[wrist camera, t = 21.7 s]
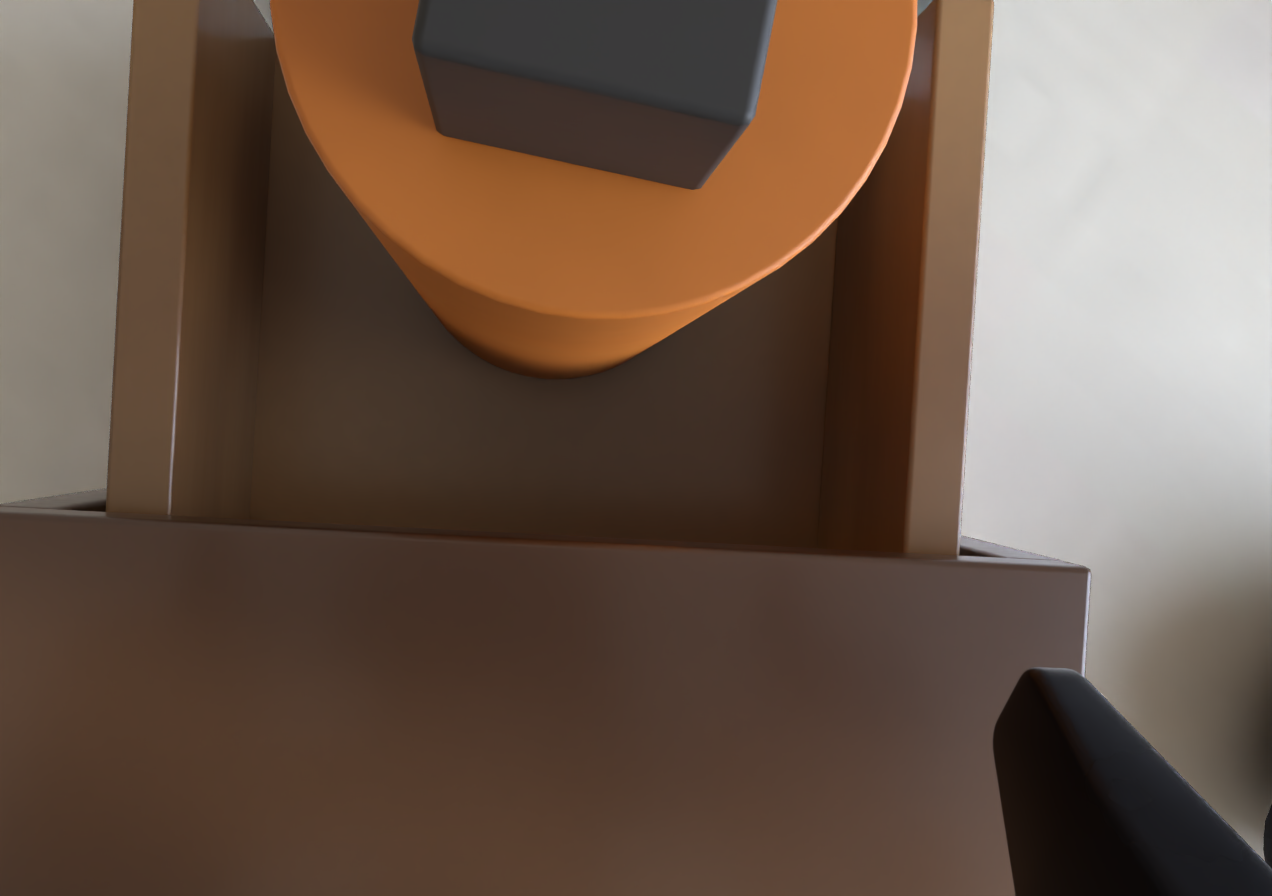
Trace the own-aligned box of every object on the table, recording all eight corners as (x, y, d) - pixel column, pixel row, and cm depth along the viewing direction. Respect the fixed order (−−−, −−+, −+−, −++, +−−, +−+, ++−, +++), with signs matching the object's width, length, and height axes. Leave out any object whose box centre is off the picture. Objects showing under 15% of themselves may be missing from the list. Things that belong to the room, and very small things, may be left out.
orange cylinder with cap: (669, 404, 20) (951, 362, 7) (383, 348, 19) (112, 188, 6) (723, 124, 20) (1108, -444, 7) (439, 61, 19) (281, -676, 6)
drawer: (224, -378, 20) (103, -704, 14) (934, -289, 21) (1089, -556, 15) (167, 637, 20) (26, 722, 14) (875, 666, 21) (1005, 754, 16)
